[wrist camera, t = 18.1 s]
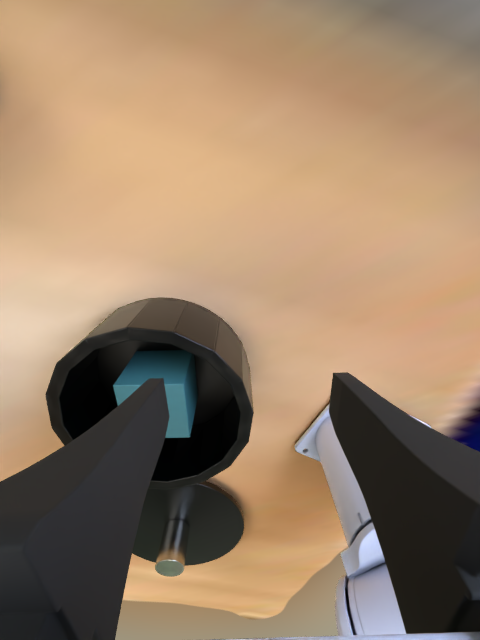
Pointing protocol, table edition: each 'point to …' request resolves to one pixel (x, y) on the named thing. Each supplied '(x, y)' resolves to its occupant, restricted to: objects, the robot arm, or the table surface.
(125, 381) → the block
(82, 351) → the black round container
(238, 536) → the lid
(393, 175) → the table surface
